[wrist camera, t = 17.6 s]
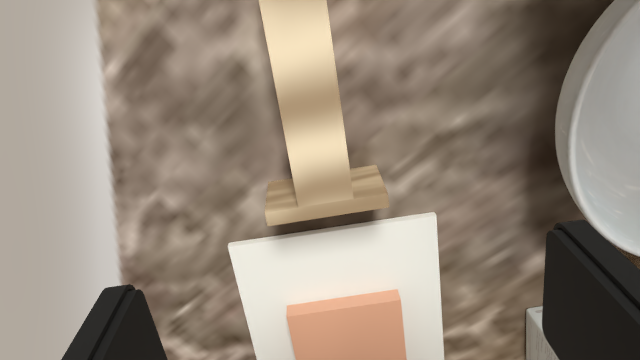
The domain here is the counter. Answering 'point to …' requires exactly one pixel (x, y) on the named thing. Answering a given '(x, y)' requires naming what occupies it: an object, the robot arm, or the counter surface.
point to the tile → (349, 328)
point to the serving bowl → (604, 126)
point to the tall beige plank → (312, 120)
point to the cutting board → (342, 278)
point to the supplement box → (537, 337)
